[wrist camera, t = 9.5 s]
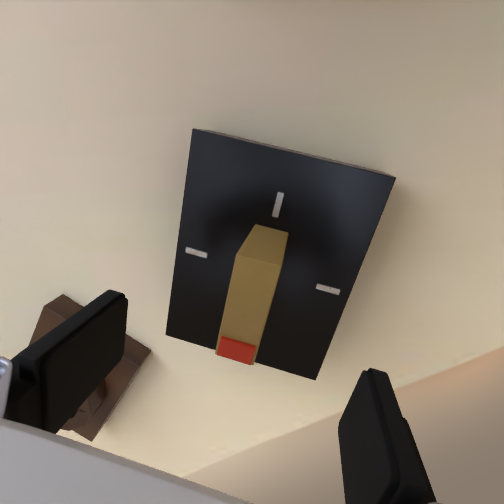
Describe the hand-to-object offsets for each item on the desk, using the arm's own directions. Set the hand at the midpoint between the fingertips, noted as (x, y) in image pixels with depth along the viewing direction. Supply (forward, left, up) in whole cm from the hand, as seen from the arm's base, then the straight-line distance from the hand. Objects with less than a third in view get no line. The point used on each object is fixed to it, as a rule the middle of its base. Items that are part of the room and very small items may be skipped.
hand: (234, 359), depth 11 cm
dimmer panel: (0, 0, -11) cm, 11 cm away
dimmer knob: (0, 0, -8) cm, 8 cm away
